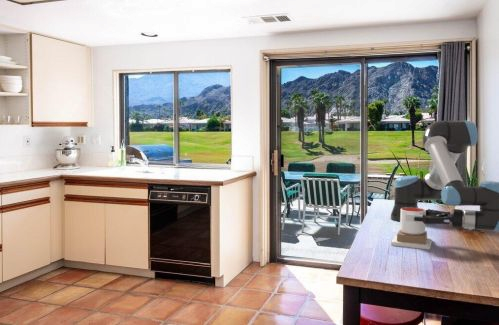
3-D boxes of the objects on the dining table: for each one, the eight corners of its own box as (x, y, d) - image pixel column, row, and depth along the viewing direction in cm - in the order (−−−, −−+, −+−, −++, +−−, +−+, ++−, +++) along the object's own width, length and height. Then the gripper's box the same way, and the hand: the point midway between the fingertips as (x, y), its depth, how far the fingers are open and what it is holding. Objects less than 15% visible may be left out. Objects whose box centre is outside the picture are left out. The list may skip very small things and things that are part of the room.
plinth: (395, 237, 198) (396, 227, 198) (432, 240, 192) (432, 230, 191) (391, 245, 185) (391, 234, 184) (429, 249, 178) (430, 238, 178)
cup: (428, 232, 188) (429, 209, 187) (419, 236, 181) (420, 212, 180) (406, 229, 195) (406, 206, 194) (396, 232, 188) (396, 209, 187)
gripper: (462, 234, 168) (403, 229, 177) (462, 222, 190) (410, 218, 200) (463, 215, 167) (404, 210, 177) (463, 205, 190) (411, 201, 199)
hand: (407, 214), depth 188 cm, fingers open, 13 cm apart
